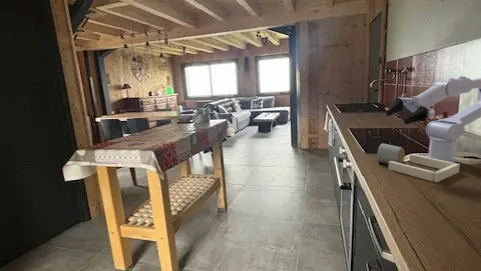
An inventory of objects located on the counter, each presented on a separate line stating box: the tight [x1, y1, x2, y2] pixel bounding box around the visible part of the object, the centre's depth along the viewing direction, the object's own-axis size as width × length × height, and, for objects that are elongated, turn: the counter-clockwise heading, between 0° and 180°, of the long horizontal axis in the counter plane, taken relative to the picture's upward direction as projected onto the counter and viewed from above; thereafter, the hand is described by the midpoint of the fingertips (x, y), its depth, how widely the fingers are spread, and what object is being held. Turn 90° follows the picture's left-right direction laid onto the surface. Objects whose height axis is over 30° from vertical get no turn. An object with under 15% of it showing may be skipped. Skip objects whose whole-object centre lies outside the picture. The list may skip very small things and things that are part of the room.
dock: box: [387, 153, 460, 183], centre depth 95 cm, size 15×16×3 cm
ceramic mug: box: [376, 143, 406, 165], centre depth 104 cm, size 11×8×8 cm
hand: (395, 117), depth 94 cm, fingers open, 7 cm apart
